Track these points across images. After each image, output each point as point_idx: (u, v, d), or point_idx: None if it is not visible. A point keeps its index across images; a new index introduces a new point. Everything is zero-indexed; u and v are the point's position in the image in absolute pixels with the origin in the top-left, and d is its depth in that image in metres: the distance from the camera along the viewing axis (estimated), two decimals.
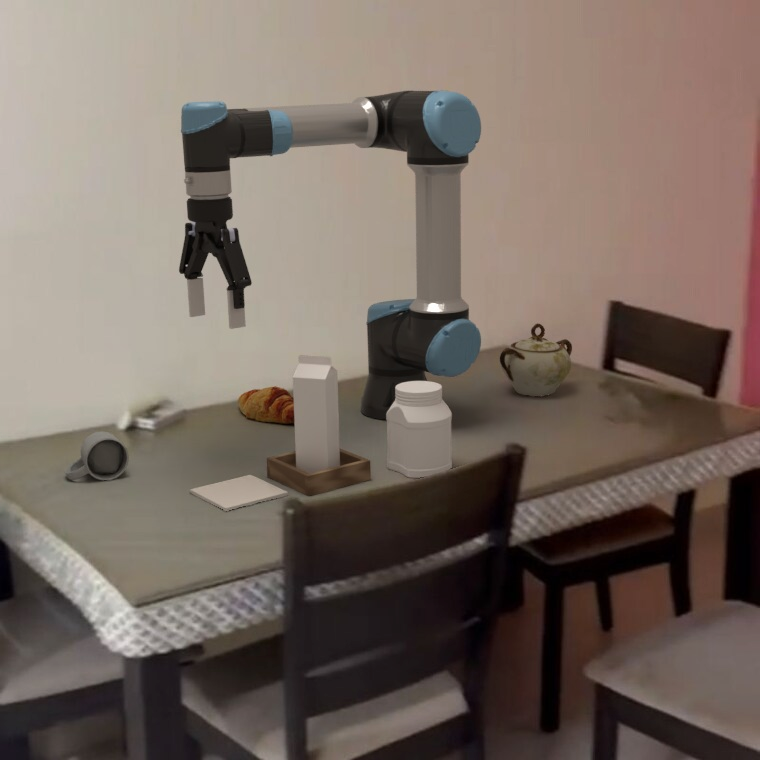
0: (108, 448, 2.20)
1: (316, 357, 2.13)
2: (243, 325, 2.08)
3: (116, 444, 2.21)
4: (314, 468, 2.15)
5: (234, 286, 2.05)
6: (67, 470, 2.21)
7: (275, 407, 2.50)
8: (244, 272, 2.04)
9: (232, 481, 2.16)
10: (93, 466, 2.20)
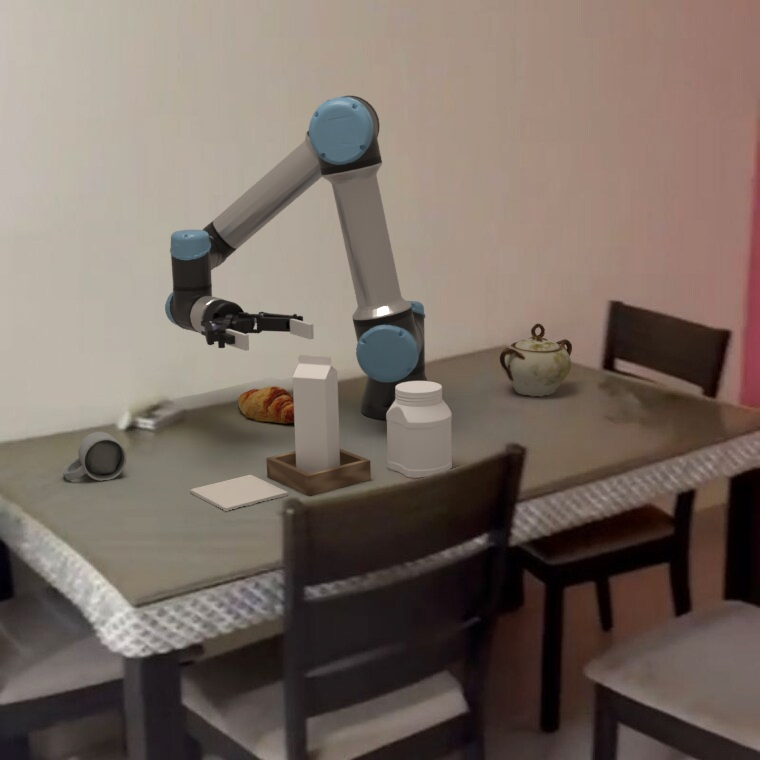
0: (106, 448, 2.20)
1: (316, 357, 2.13)
2: (244, 337, 2.17)
3: (114, 444, 2.21)
4: (314, 468, 2.15)
5: (218, 342, 2.22)
6: (65, 470, 2.21)
7: (274, 407, 2.50)
8: (206, 333, 2.23)
9: (232, 481, 2.16)
10: (90, 467, 2.20)
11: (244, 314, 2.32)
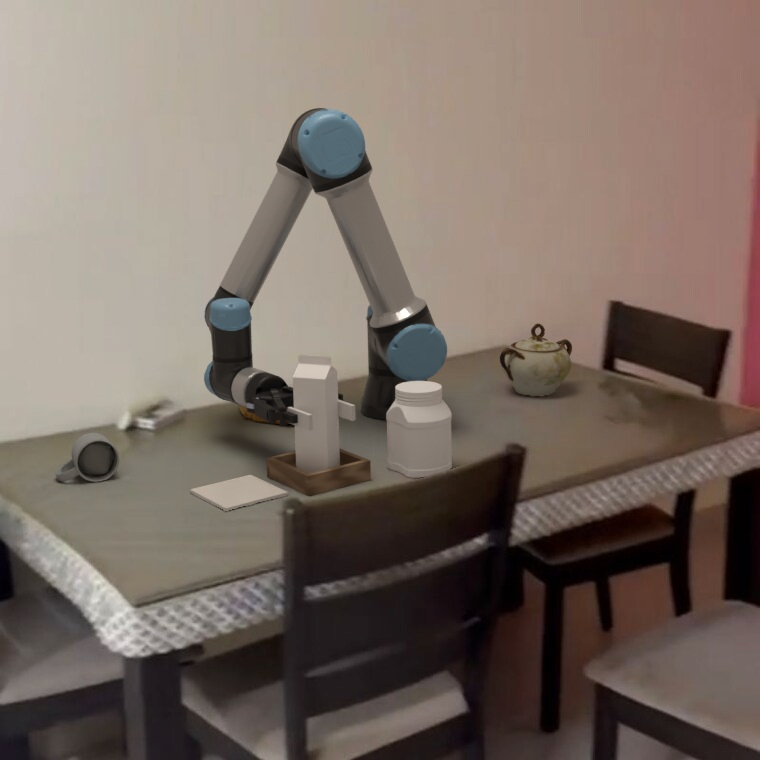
0: (99, 449, 2.19)
1: (316, 357, 2.13)
2: (308, 417, 2.09)
3: (107, 445, 2.20)
4: (313, 468, 2.15)
5: (280, 421, 2.14)
6: (58, 471, 2.21)
7: None
8: (265, 411, 2.15)
9: (232, 481, 2.16)
10: (83, 468, 2.20)
11: (287, 389, 2.24)
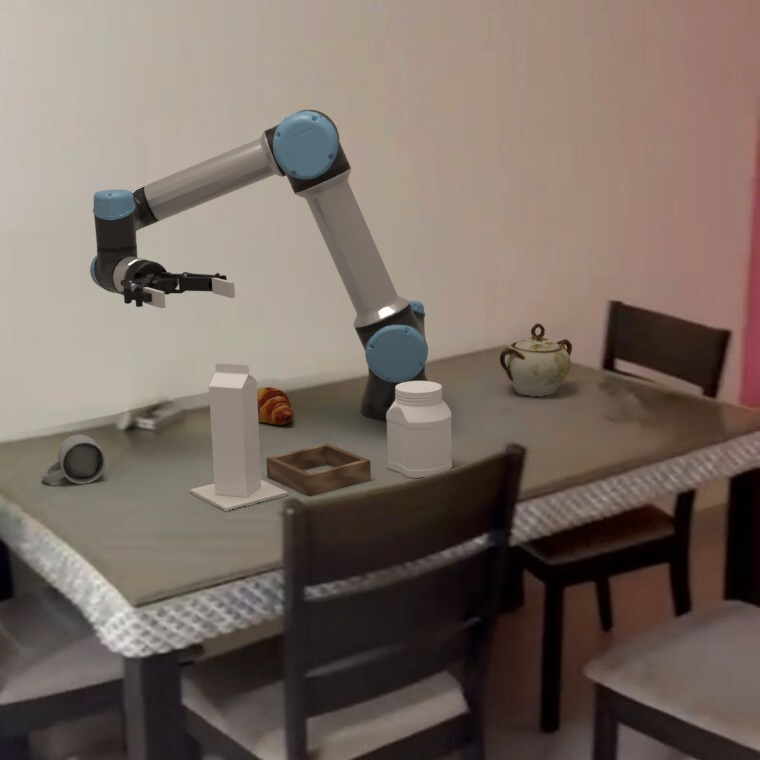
0: (85, 451, 2.18)
1: (233, 365, 2.06)
2: (160, 294, 2.11)
3: (93, 447, 2.19)
4: (231, 481, 2.08)
5: None
6: (44, 473, 2.20)
7: (266, 408, 2.50)
8: None
9: None
10: (69, 470, 2.19)
11: (166, 274, 2.26)
